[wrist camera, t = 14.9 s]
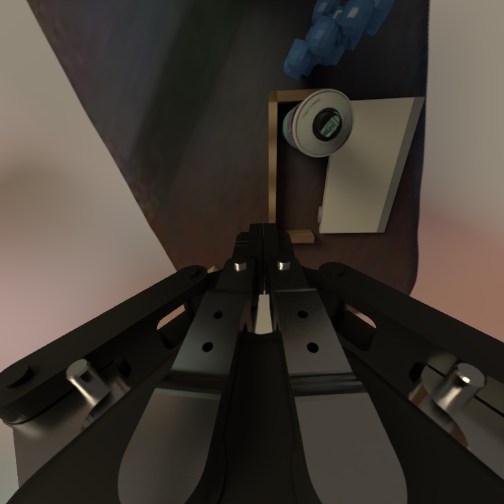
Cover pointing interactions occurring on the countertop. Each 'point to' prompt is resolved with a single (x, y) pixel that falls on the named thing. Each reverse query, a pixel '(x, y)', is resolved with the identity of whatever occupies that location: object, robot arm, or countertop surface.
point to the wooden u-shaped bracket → (275, 99)
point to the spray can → (319, 123)
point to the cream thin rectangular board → (369, 166)
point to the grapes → (334, 33)
